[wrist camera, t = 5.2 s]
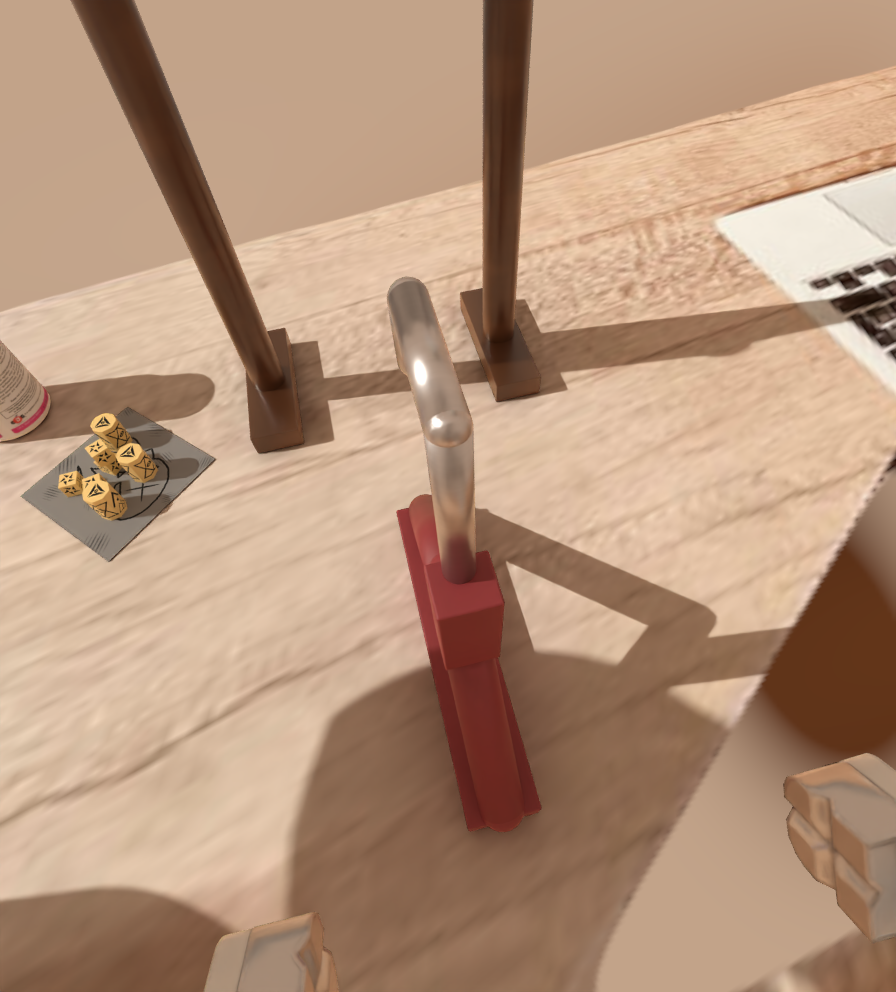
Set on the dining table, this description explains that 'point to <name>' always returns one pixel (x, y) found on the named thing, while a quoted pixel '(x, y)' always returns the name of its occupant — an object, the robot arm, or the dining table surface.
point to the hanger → (457, 580)
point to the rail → (187, 193)
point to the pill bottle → (19, 398)
